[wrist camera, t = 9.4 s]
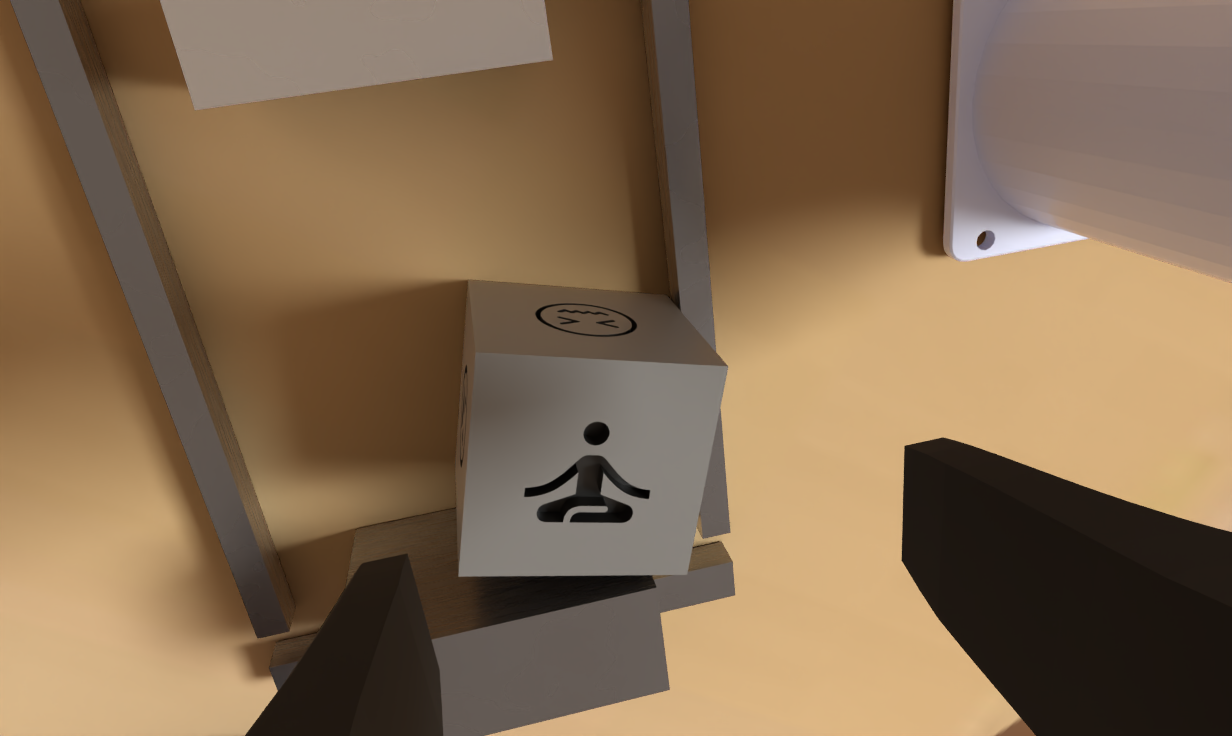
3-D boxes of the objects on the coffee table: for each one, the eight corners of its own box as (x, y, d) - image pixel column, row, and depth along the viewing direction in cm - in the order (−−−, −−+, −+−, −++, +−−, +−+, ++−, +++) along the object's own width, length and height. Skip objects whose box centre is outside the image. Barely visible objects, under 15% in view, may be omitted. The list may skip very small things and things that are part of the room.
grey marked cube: (454, 461, 21) (458, 576, 17) (468, 278, 20) (475, 352, 15) (637, 465, 22) (687, 574, 18) (665, 293, 21) (728, 366, 16)
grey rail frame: (633, -502, 15) (718, -744, 10) (724, 574, 24) (788, 698, 20) (-141, -464, 13) (-455, -732, 8) (288, 675, 23) (249, 835, 18)
